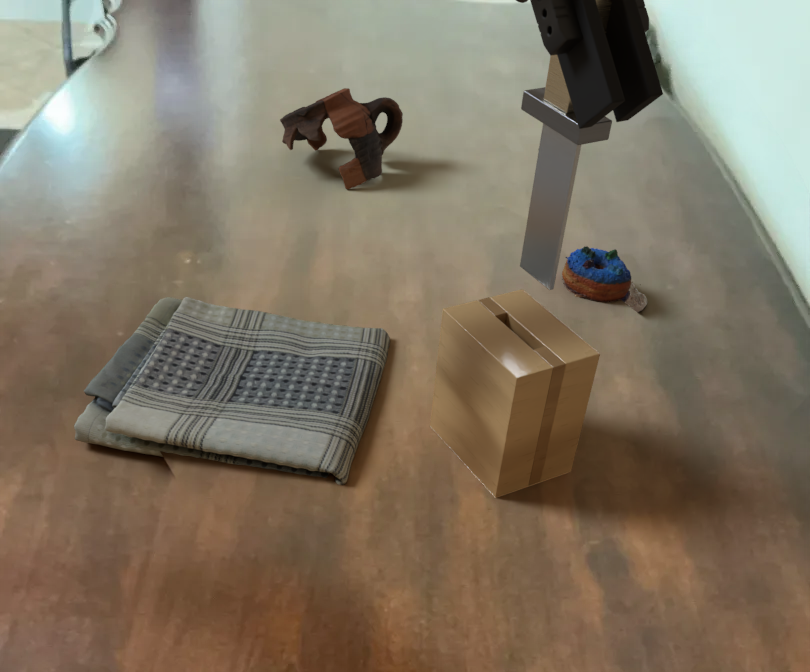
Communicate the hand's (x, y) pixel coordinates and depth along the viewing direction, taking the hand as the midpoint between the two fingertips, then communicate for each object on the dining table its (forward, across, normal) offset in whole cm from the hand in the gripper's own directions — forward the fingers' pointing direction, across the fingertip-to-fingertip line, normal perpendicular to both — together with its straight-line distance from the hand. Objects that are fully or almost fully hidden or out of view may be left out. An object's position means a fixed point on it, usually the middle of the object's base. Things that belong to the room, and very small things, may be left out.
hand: (620, 110), depth 46 cm
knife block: (+14, +1, -19) cm, 24 cm away
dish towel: (+5, +13, -29) cm, 32 cm away
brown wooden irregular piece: (-17, -11, -51) cm, 55 cm away
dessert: (+5, -19, -30) cm, 35 cm away
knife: (+5, 0, -11) cm, 12 cm away
